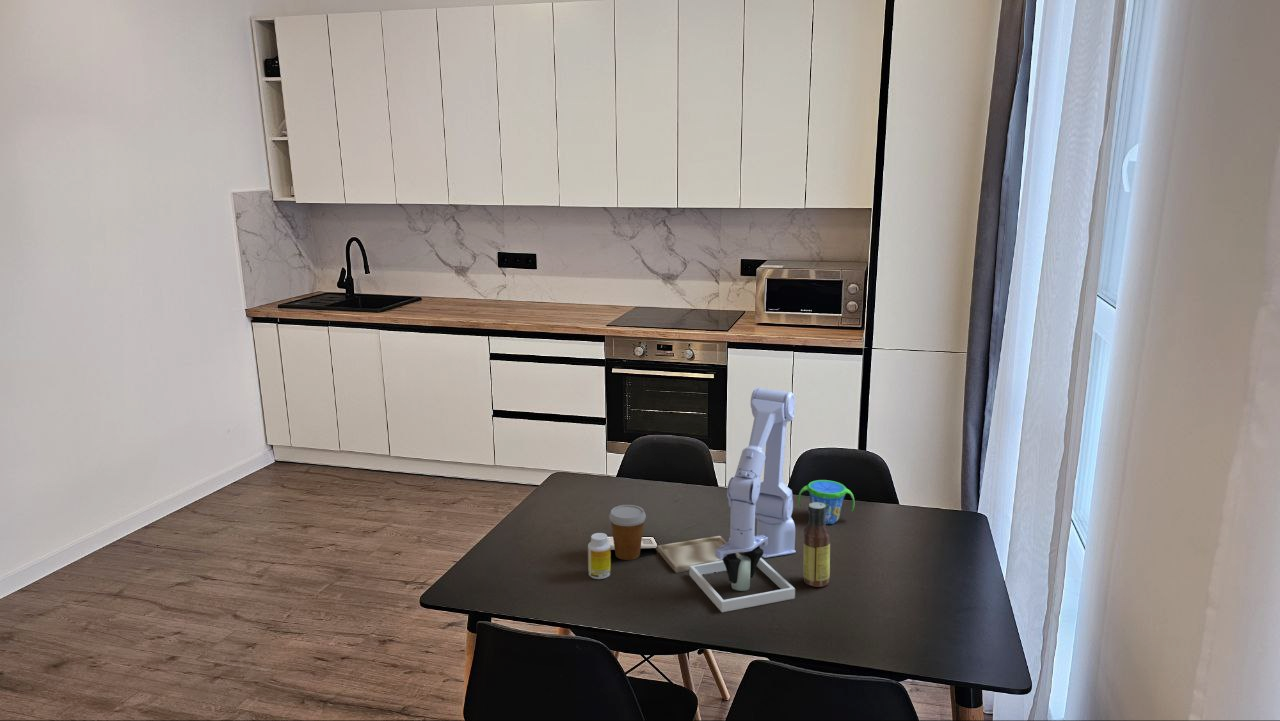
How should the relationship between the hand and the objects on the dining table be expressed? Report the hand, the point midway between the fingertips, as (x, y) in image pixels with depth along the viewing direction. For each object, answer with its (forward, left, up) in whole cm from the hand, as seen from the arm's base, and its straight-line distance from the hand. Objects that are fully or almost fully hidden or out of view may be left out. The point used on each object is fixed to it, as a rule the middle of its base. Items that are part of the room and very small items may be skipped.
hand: (740, 579), depth 198 cm
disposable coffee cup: (+20, -25, -2) cm, 32 cm away
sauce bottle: (-18, +4, -2) cm, 19 cm away
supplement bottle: (+30, -17, -2) cm, 35 cm away
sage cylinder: (0, 0, -2) cm, 2 cm away
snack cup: (-40, -27, -2) cm, 48 cm away
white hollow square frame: (0, 0, -2) cm, 2 cm away
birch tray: (+3, -18, -2) cm, 18 cm away
